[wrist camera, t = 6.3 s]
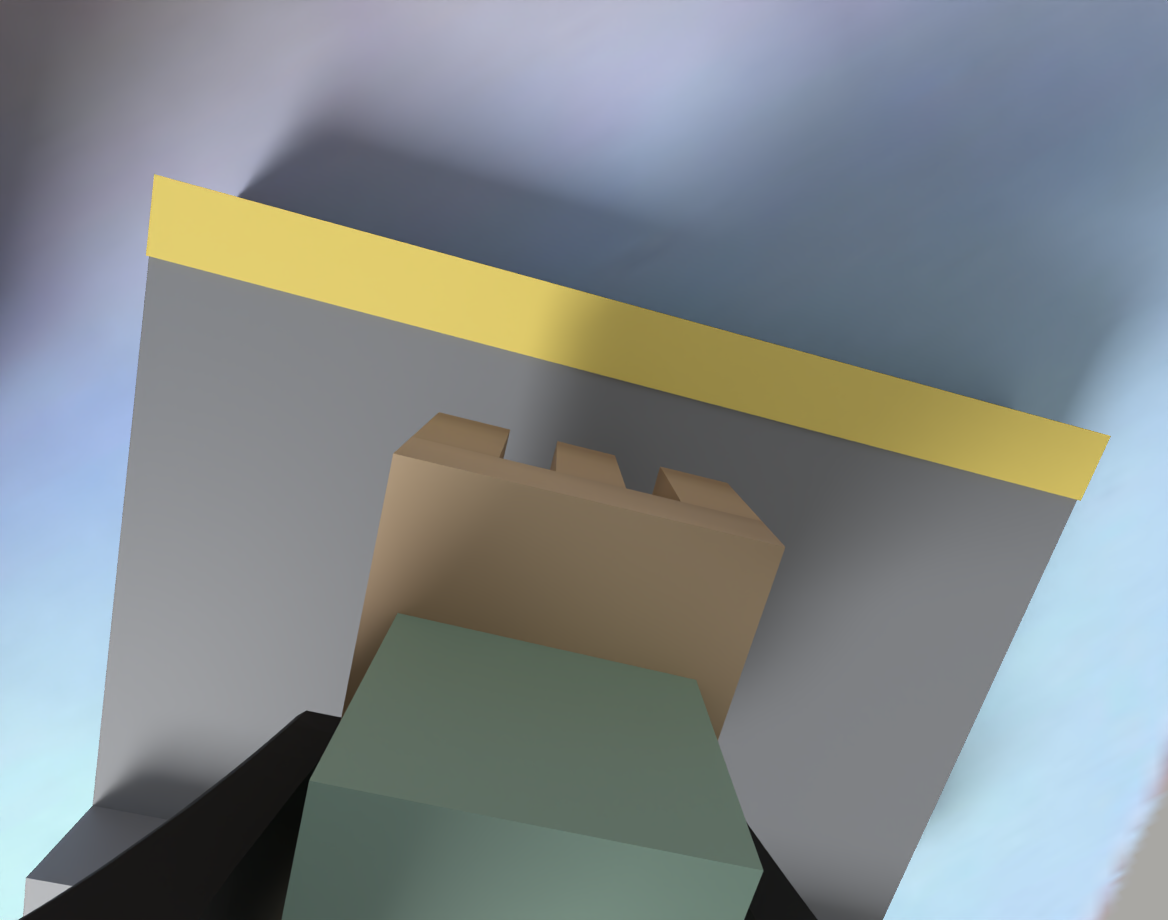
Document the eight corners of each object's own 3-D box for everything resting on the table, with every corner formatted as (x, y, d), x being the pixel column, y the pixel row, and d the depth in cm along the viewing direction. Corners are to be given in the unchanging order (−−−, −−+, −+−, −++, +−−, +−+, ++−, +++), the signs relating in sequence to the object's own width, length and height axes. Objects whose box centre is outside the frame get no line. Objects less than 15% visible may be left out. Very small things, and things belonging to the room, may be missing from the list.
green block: (615, 916, 10) (638, 1186, 7) (342, 865, 9) (240, 1126, 6) (696, 679, 9) (762, 870, 6) (397, 612, 8) (308, 781, 5)
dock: (808, 894, 21) (884, 1077, 16) (160, 769, 19) (21, 933, 14) (1014, 411, 17) (1193, 457, 12) (235, 198, 15) (81, 152, 10)
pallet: (593, 900, 13) (602, 1070, 10) (345, 854, 13) (281, 1019, 10) (727, 483, 11) (785, 546, 8) (439, 411, 11) (393, 453, 8)
